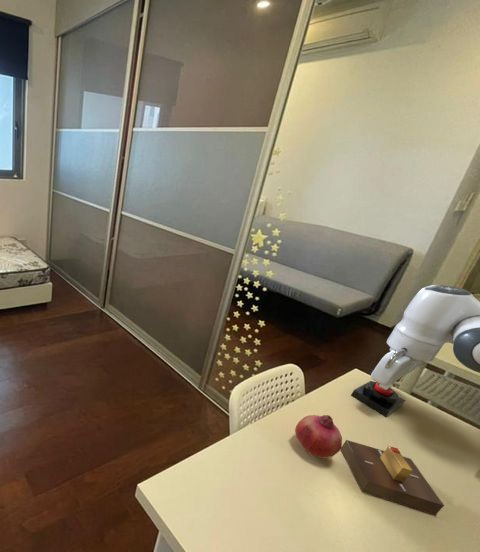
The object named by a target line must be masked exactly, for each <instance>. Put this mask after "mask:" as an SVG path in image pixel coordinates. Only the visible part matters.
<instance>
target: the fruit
mask: <svg viewBox="0 0 480 552" xmlns="http://www.w3.org/2000/svg"><path fill="white" fill-rule="evenodd" d="M294 434H295V437H296V439H297V441H298V442H299V444H300V445H301V446H302V448H303V449H304V450H305V451H306V452H307V453H309V455H312V456H315V457H318V458H322V459H324V458H331V457H334V456H335V455H337V454H338V453H339V452H340V451H341V447H342V446H343V436H342V434H341V432H340V429H339V428H338V427H337V426H336V425H335V424H334V421H333V418H332V416H331V415H328V414H323V415H316V414H310V415H306V416H304V417H302V419H300V421H298V423H297V424H296V426H295V428H294Z"/></svg>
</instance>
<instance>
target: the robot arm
mask: <svg viewBox="0 0 480 552" xmlns="http://www.w3.org/2000/svg"><path fill="white" fill-rule="evenodd" d="M446 343H448V344H451V345H452V351H453V355H454V357H455V359H456V360H457V361H458V362H459V363H460V364H461V365H462V366H464V367H466V368H468V369H469V370H471V371H474V372H476V373H478V374H480V301H479V300H478V299H477V298H476V297H475V296H474V295H473V294H472V292H471V291H469V290H467V289H464V288H460V287H457V286H453V285H445V284H431V285H428V286H427V285H426V286H425V287H423V288H421V289H420V290H419V291H418V292H417V293H416V294H415V295H414V297H412V299H411V301H410V302H409V304H408V305H407V307H406V308H405V310H404V312H403V316H402V319H401V320H400V321H399V322H397V324H395V327H394V328H393V330H392V331H391V333H390V334H389V336H388V338H387V340H386V344H387V346H389V352H387V353H385V354H384V355H383V356H382V358H381V359H380V360H379V362H378V363H377V365H376V366H375V367H374V369H373V370H372V372H371V374H370V379H371V380H373V382H378V383H379V384H380V385H379V386H380V387H381V388H383V389H385V390H387V389H389V388H392V387H393V386H394V385H395V383H397V382H398V380H400V379H402V378H404V377H405V376H407V375H409V374H410V373H412V372H413V371H415V370H417V369H419V368H420V366H421V365H422V364H424V362H432V361H433V360H434V359H435V358H436V356H437V355H438V354H439V352H440V351H441V349H442V348H443V346H444V345H445V344H446Z"/></svg>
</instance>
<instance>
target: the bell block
mask: <svg viewBox="0 0 480 552" xmlns="http://www.w3.org/2000/svg"><path fill="white" fill-rule="evenodd" d="M376 383H378V382H376V381H374V380H373V381H372V380H369V381H368V382H366V383H364V384H362V385H360V386H358V387H356V388H354V389H353V391H352V392H351V394H350V396H351V397H352V398H354V399H355V400H356V401H359V402H360V403H362V404H363V405H365V406H367V407H368V408H370V409H371V410H373V411H375V412H376V413H378V414H379V415H381V416H382V417H384V418H387V417H388V416H390V415H391V414H393V413H394V412H396V411H397V410H398V409H400V408H401V407H403V405H404V404H405V402H406V399H404V398H402V397H401V396H399V394H398V392H396V391H395V390H394V389H393V393H392V394H391V396H387V395H384V394H382V393H380V392H378V391H377V390H376V389H375V388H374V386H375V384H376Z"/></svg>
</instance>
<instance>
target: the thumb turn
mask: <svg viewBox="0 0 480 552" xmlns="http://www.w3.org/2000/svg"><path fill="white" fill-rule="evenodd" d="M383 451H384V453H383V454H382V455H381V457H380V458H381V460H382V462H383V463H384V465H385V466H386V468H387V470H388V471H389V473H390V474H391V476H392V478H393V479H394V480H397V481H400V482H404V481H405V479H406V478H407V477H408V476H409V474H410V473H411V472H412V469H411V468H410V466H409V465H408V463H407V462H406V461H405V459H404V458H403V457H404V456H403V455H402V453H401V451H400V449H399V448H397V447H394V446H389V445H388V446H387V447H386V449H385V450H383Z"/></svg>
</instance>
